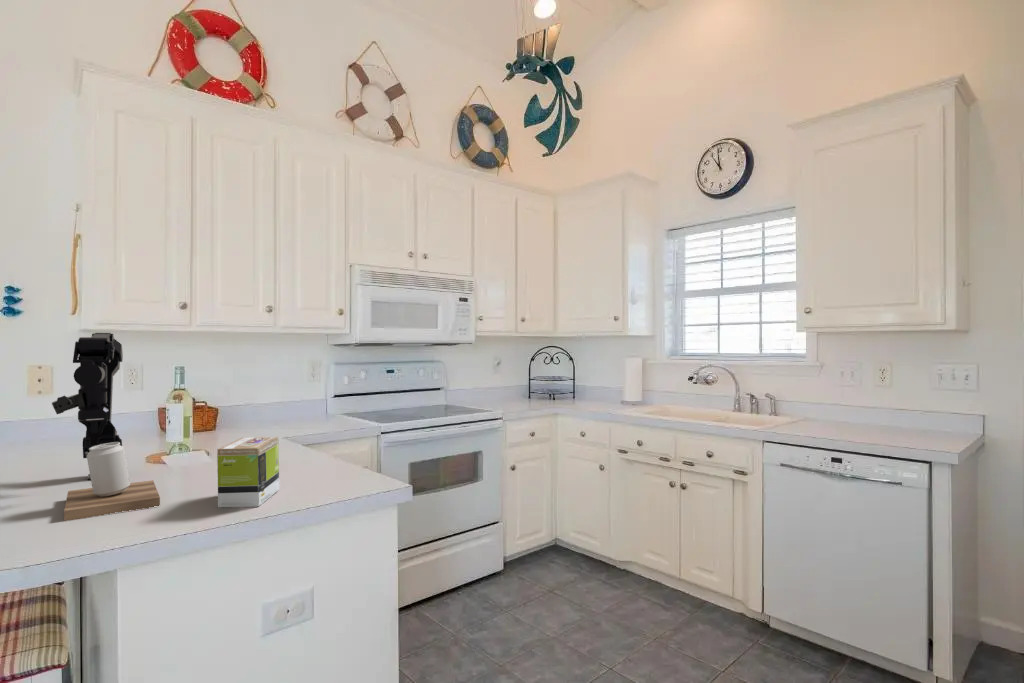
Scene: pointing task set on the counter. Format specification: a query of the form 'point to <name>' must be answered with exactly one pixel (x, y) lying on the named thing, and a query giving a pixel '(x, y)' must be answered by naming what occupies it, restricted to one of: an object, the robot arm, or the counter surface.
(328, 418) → the counter surface
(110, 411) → the robot arm
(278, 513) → the counter surface
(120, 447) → the can
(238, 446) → the tea box
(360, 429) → the counter surface
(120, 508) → the brown wooden slab
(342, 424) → the counter surface
